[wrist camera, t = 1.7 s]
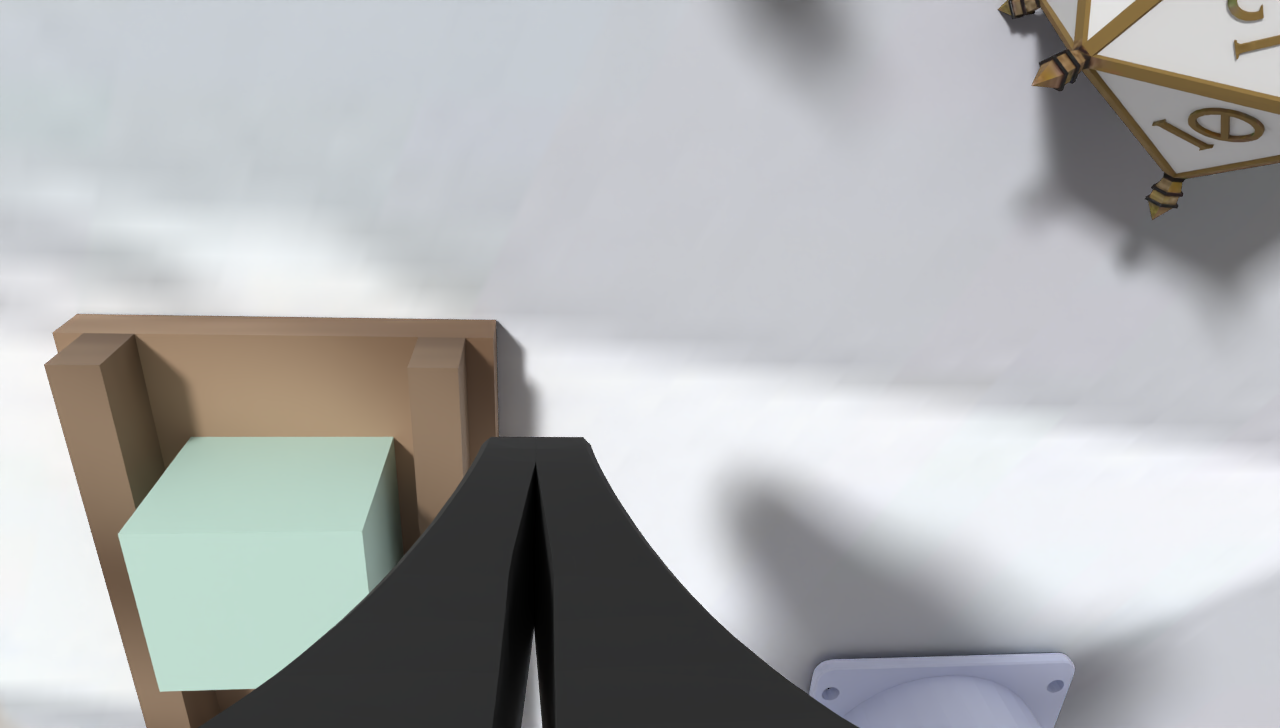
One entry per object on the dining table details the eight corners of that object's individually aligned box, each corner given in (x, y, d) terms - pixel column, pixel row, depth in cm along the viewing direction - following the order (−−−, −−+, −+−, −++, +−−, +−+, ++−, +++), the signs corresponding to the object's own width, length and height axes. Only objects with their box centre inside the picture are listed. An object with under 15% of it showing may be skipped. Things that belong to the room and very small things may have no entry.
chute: (505, 725, 25) (498, 836, 22) (185, 736, 24) (129, 854, 21) (496, 319, 19) (484, 391, 16) (77, 314, 18) (-23, 388, 15)
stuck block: (405, 575, 21) (379, 684, 18) (220, 578, 20) (159, 691, 17) (393, 436, 19) (362, 531, 16) (190, 436, 19) (117, 533, 16)
